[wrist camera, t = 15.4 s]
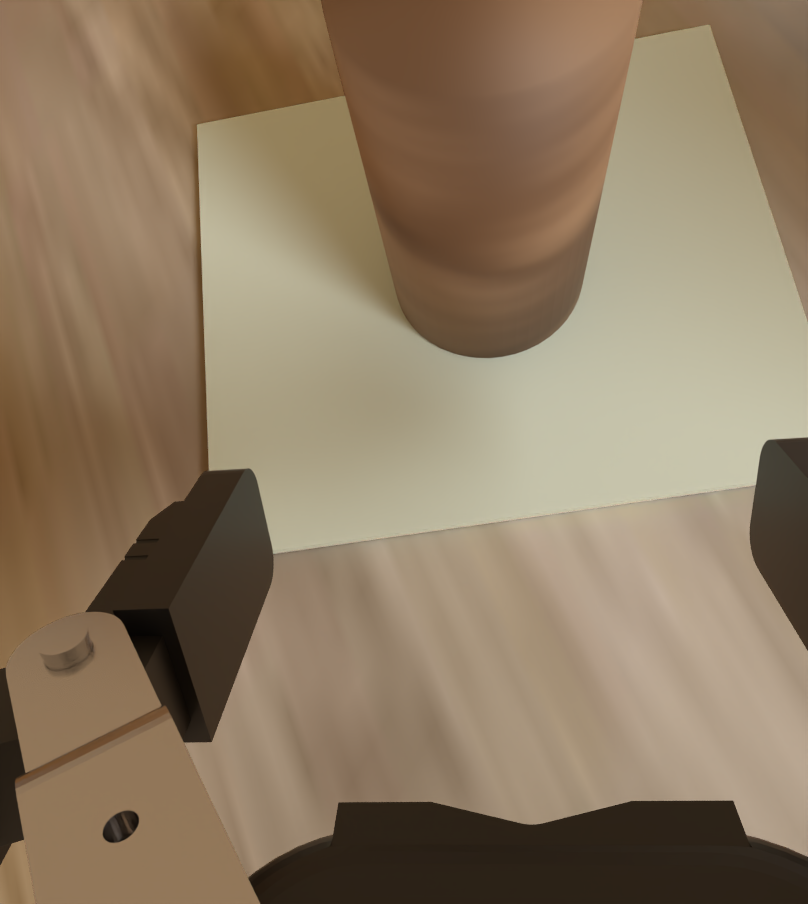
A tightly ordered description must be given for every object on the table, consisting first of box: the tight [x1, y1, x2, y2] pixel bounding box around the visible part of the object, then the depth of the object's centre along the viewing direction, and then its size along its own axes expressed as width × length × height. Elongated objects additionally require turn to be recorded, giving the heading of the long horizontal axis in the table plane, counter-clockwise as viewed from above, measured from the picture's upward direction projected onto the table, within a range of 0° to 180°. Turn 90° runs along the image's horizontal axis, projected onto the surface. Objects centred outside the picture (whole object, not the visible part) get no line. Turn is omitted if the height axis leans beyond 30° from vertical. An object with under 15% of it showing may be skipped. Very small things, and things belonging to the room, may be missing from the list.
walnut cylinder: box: [321, 0, 643, 358], centre depth 16 cm, size 5×5×9 cm
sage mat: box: [197, 24, 808, 554], centre depth 20 cm, size 16×14×1 cm
